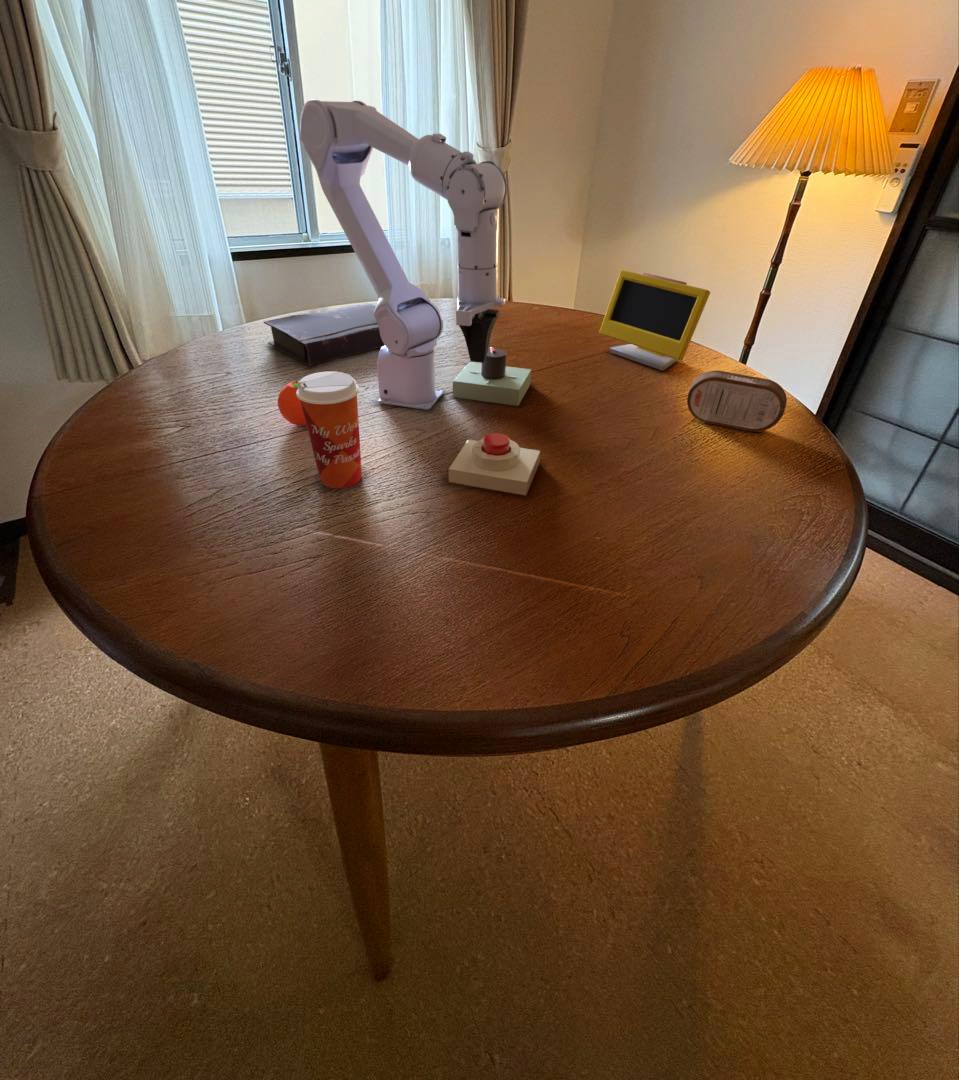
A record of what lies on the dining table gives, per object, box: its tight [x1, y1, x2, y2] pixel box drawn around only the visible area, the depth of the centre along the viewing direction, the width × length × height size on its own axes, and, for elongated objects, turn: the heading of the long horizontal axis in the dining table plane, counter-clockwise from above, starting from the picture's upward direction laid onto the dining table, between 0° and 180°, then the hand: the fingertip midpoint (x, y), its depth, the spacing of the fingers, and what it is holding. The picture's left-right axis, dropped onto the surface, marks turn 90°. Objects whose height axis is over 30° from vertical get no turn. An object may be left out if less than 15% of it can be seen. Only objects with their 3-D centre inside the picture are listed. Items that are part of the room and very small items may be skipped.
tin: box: [686, 369, 788, 433], centre depth 91 cm, size 15×3×8 cm, turn 65°
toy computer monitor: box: [598, 269, 711, 372], centre depth 113 cm, size 20×8×16 cm, turn 41°
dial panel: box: [452, 361, 532, 407], centre depth 102 cm, size 12×10×3 cm
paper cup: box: [296, 370, 362, 489], centre depth 74 cm, size 8×8×14 cm
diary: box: [263, 302, 385, 367], centre depth 120 cm, size 19×25×5 cm
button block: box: [448, 437, 541, 496], centre depth 79 cm, size 11×9×4 cm
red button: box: [483, 432, 511, 456], centre depth 77 cm, size 4×4×2 cm
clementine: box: [277, 380, 307, 427], centre depth 88 cm, size 8×7×7 cm
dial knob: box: [480, 346, 507, 379], centre depth 100 cm, size 4×4×4 cm
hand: (478, 360), depth 87 cm, fingers closed
